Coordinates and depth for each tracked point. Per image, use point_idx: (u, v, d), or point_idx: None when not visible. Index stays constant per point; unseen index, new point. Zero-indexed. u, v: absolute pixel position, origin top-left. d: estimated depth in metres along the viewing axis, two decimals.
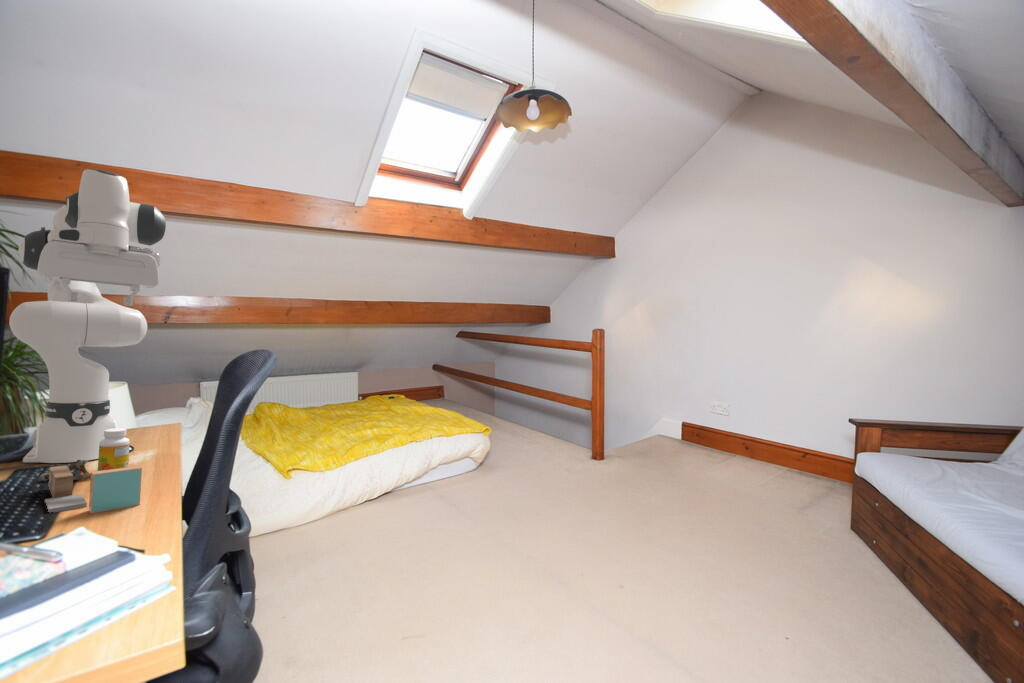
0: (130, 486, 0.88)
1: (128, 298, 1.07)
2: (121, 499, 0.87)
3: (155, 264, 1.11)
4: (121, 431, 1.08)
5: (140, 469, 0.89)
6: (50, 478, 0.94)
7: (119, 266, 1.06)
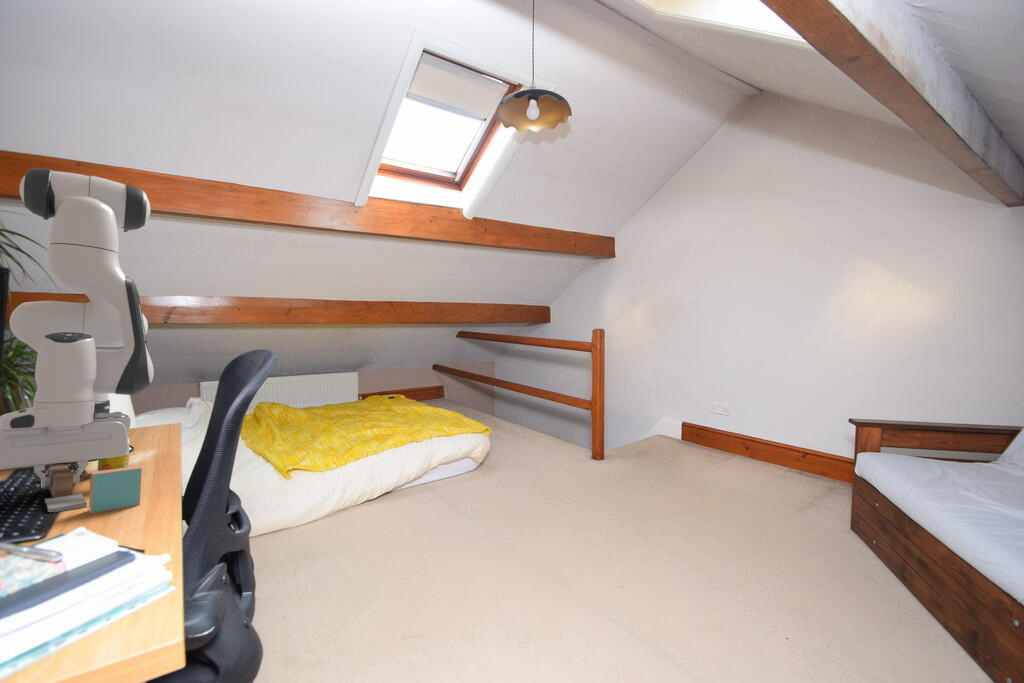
0: (129, 486, 0.88)
1: (73, 477, 0.94)
2: (121, 499, 0.87)
3: (124, 431, 0.99)
4: None
5: (140, 469, 0.89)
6: None
7: (82, 443, 0.94)
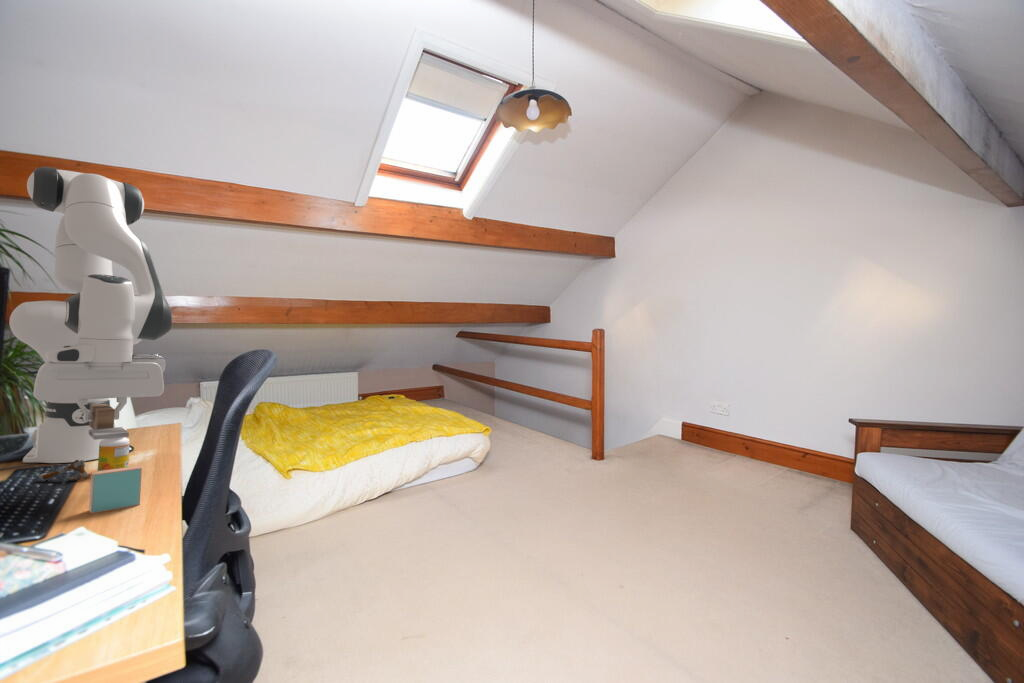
0: (130, 486, 0.88)
1: (114, 413, 0.98)
2: (121, 499, 0.87)
3: (160, 372, 1.03)
4: None
5: (140, 469, 0.89)
6: None
7: (122, 380, 0.98)
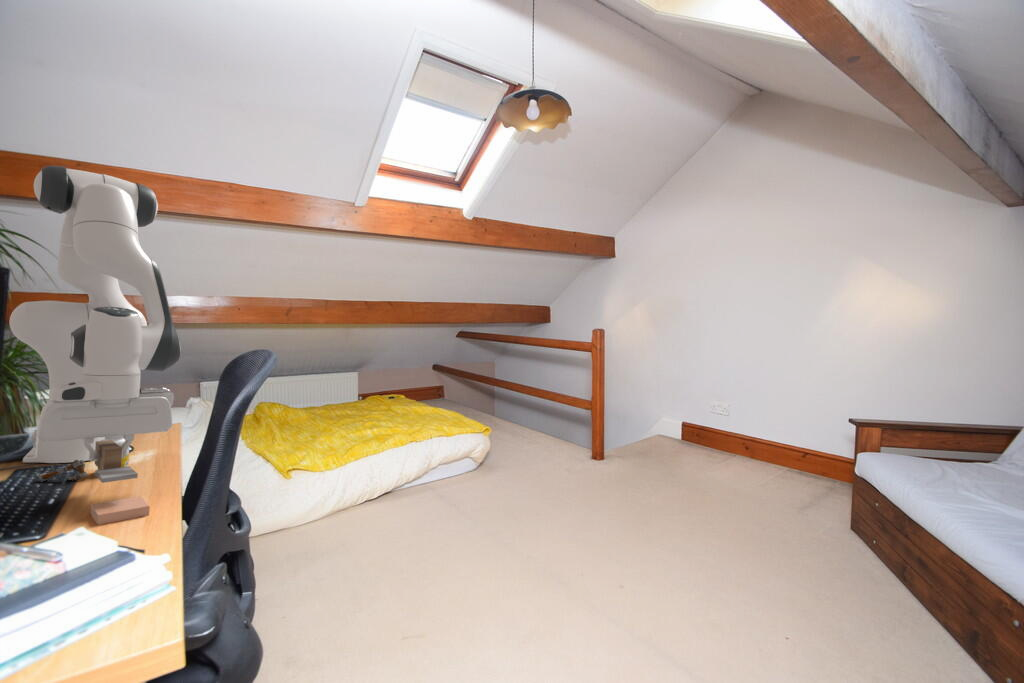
0: None
1: None
2: None
3: (168, 406, 0.99)
4: None
5: None
6: None
7: (129, 417, 0.94)
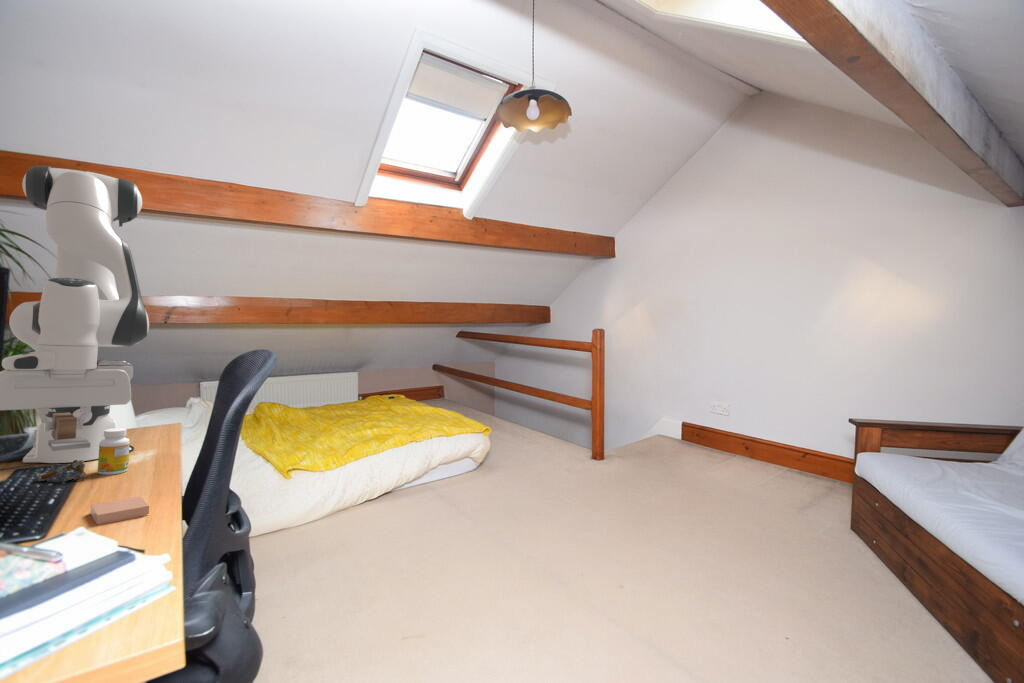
0: None
1: (77, 422, 0.94)
2: None
3: (127, 379, 0.99)
4: (121, 431, 1.08)
5: None
6: None
7: (85, 388, 0.94)
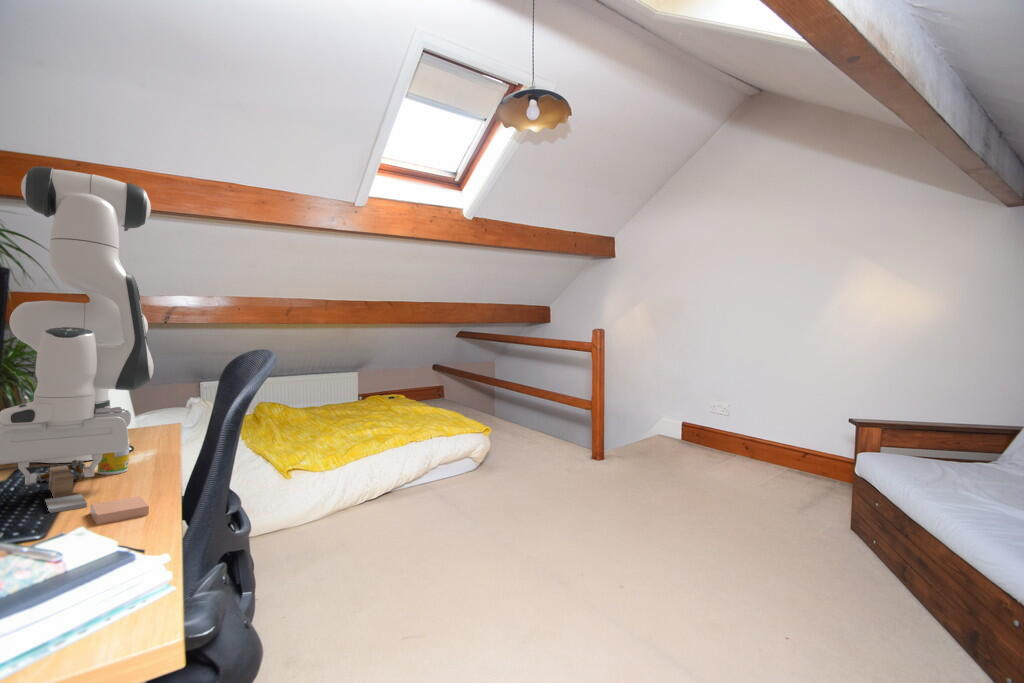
0: None
1: (88, 470, 0.95)
2: None
3: (124, 426, 0.99)
4: None
5: None
6: (50, 478, 0.94)
7: (82, 438, 0.94)
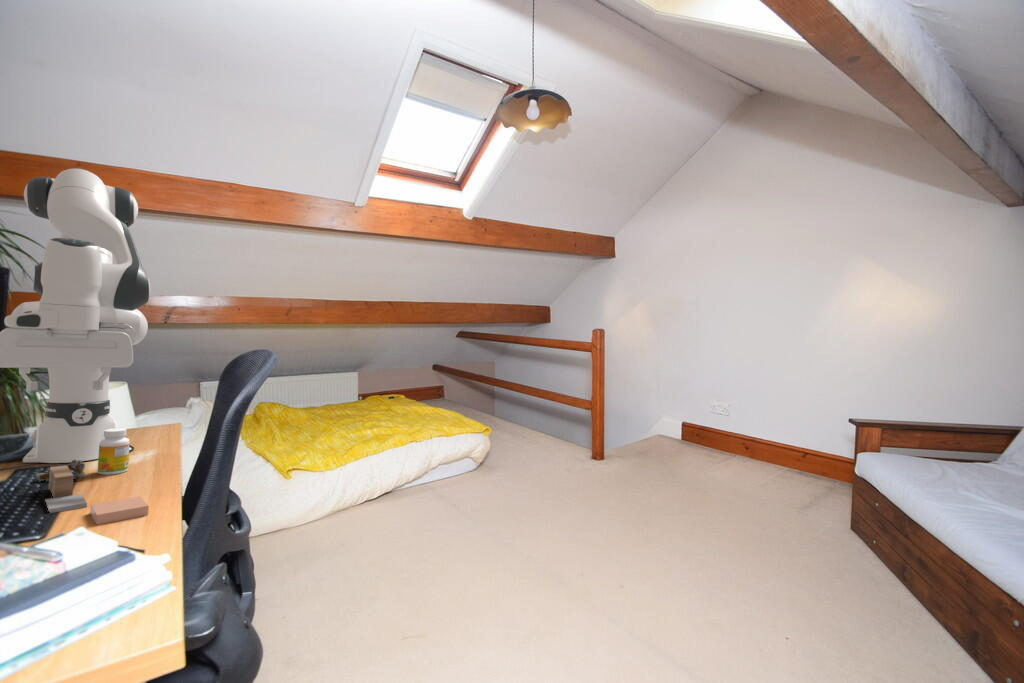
0: None
1: (97, 383, 0.96)
2: None
3: (129, 342, 0.99)
4: (121, 431, 1.08)
5: None
6: (50, 478, 0.94)
7: (87, 349, 0.94)
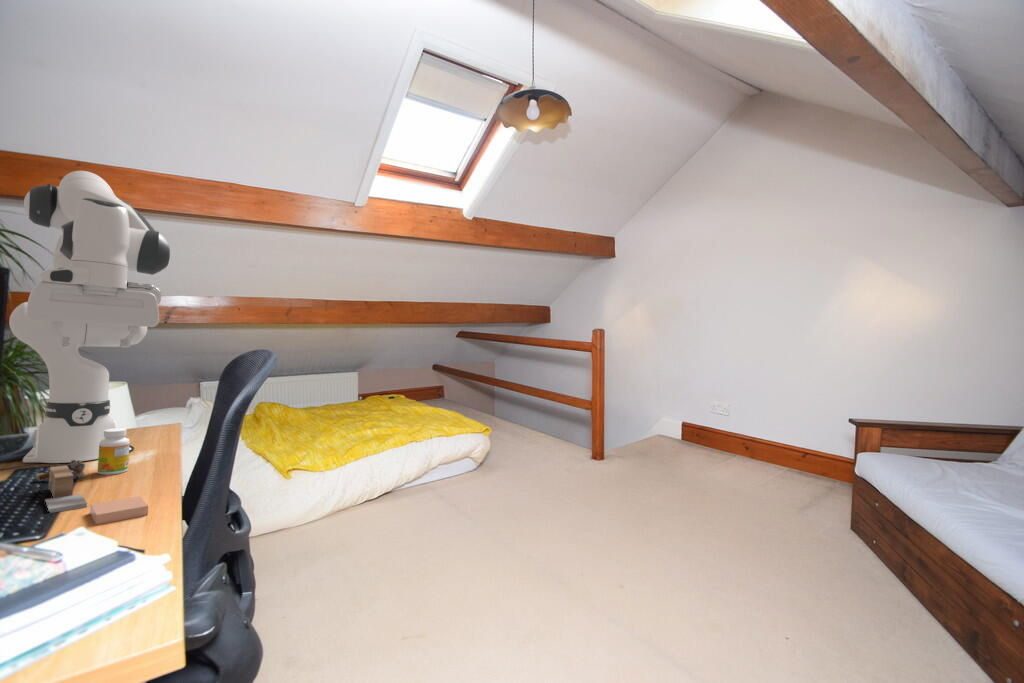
0: None
1: (125, 340, 0.99)
2: None
3: (155, 302, 1.02)
4: (121, 431, 1.08)
5: None
6: (50, 478, 0.94)
7: (116, 307, 0.97)
